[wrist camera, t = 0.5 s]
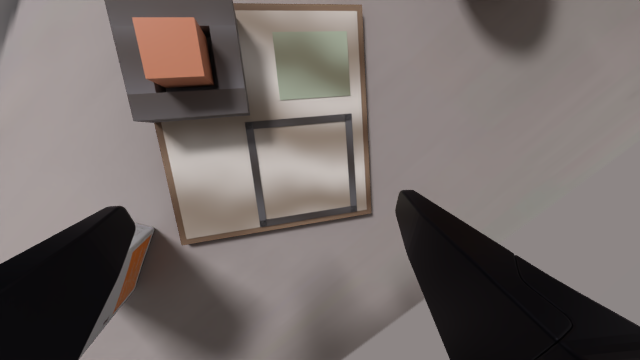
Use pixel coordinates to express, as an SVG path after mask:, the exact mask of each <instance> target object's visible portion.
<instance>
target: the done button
mask: <svg viewBox="0 0 640 360" xmlns="http://www.w3.org/2000/svg"><path fill="white" fill-rule="evenodd" d="M132 20H133V24H134V29H135V33H136V38H137V42H138V47H139V51H140V56H141V60H142V65H143V69H144V74H145V78H146V79H147V80H149V81H152V82H154V83H156V84H158V85H161V86H163V87H165V88H175V87H194V86H213V85H214V81H213V75H212V69H211V63H210V57H209V51H208V45H207V39H206V36H205V34H204V33H203V31H202V29H201V28H200V26H199V24H198V23H197V21H196V19H195V18H194V17H132Z"/></svg>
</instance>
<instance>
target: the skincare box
mask: <svg viewBox="0 0 640 360" xmlns="http://www.w3.org/2000/svg"><path fill="white" fill-rule="evenodd" d="M135 226H136V230H135V234H134V237H133V239H132V242H131V245H130V248H129V250H128V253H127V256H126V259H125V261H124V264H123V267H122V270H121V272H120V275H119V277H118V279H117V281H116V283H115V285H114V288H113V290H112V292H111V294H110V296H109V298H108V300H107V302H106V304H105V306H104V308H103V310H102V312H101V314H100V316H99V318H98V320H97V322H96V324H95V327H94V329H93V331H92V333H91V335H90V337H89V339H88V341H87V343H86V345H85V347H84V349H83V351H82V353H81V355H80V357H81V356H82V355H83V354H84V352H85V351H86V350H87V349H88V347H89V346H90V345H91V344H92V342H93V341H94V340H95V339H96V337H97V336H98V335H99V334H100V332H101V331H102V330H103V329H104V327H105V326H106V325H107V323H108V322H109V321H110V320H111V318H112V317H113V316H114V315H115V313H116V312H117V311H118V310H119V309H120V307H121V306H122V305H123V303H124V302H125V301H126V300H127V299H128V297H129V296H130V295H131V294H132V292H133V291H134V290H135V287H136V283H137V280H138V277H139V273H140V270H141V267H142V264H143V261H144V258H145V255H146V252H147V249H148V246H149V244H150V241H151V238H152V235H153V232H154V228H153V227H150V226H145V225H141V224H137V223H135ZM80 357H79V359H80ZM79 359H78V360H79Z"/></svg>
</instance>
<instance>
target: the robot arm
mask: <svg viewBox="0 0 640 360" xmlns="http://www.w3.org/2000/svg"><path fill="white" fill-rule="evenodd" d="M395 211H396V217H397V221H398V224H399V228H400V231H401V235H402V238H403V242H404V246H405V249H406V252H407V255H408V258H409V260H410V263H411V265H412V268H413V270H414V273H415V275H416V278H417V280H418V282H419V285H420V287H421V290H422V292H423V295H424V297H425V300H426V302H427V304H428V307H429V309H430V312H431V314H432V317H433V319H434V321H435V324H436V326H437V329H438V331H439V334H440V336H441V339H442V341H443V343H444V346H445V348H446V351H447V353H448V356H449V358H450V360H640V326H638V325H636V324H635V323H633V322H631V321H629V320H627V319H626V318H624V317H622V316H620V315H618V314H617V313H615V312H613V311H611V310H609V309H608V308H606V307H604V306H602V305H600V304H599V303H597V302H595V301H593V300H591V299H590V298H588V297H586V296H584V295H582V294H581V293H579V292H577V291H575V290H574V289H572V288H570V287H568V286H567V285H565V284H563V283H561V282H560V281H558V280H556V279H554V278H553V277H551V276H549V275H548V274H546V273H544V272H543V271H541V270H539V269H538V268H536V267H535V266H533V265H531V264H530V263H528V262H527V261H525V260H524V259H522V258H520V257H519V256H517V255H515V256H514V254H513V253H512V252H510V251H509V250H507V249H506V248H504V247H503V246H501V245H500V244H498V243H496V242H495V241H493V240H492V239H490V238H488V237H487V236H485V235H484V234H482V233H481V232H479V231H477V230H476V229H474V228H473V227H471V226H469V225H468V224H466V223H465V222H463V221H462V220H460V219H458V218H457V217H455V216H454V215H452V214H450V213H449V212H447V211H446V210H444V209H442V208H441V207H439V206H438V205H436V204H435V203H433V202H431V201H430V200H428V199H427V198H425V197H423V196H422V195H420V194H419V193H417V192H415V191H414V190H402V191H400V193H399V196H398V200H397V205H396V210H395ZM135 230H136V226H135V223H134V221H133V220H132V218H131V217H130V215H129V213H128V212H127V210H126V209H125V208H124V207H122V206H110V207H106V208H104V209H102V210H100V211H98V212H96V213H95V214H93V215H91V216H89V217H87V218H85V219H83V220H82V221H80V222H78V223H76V224H74V225H72V226H70V227H69V228H67V229H65V230H63V231H61V232H59V233H57V234H55V235H54V236H52V237H50V238H48V239H46V240H44V241H42V242H41V243H39V244H37V245H35V246H33V247H31V248H29V249H28V250H26V251H24V252H22V253H20V254H18V255H16V256H14V257H13V258H11V259H9V260H7V261H5V262H3V263H1V264H0V360H78V359H79V357H80V355H81V353H82V351H83V349H84V347H85V345H86V343H87V341H88V339H89V337H90V335H91V333H92V331H93V329H94V327H95V324H96V322H97V320H98V318H99V316H100V314H101V312H102V310H103V308H104V306H105V304H106V302H107V300H108V298H109V296H110V294H111V292H112V290H113V288H114V285H115V283H116V281H117V279H118V277H119V275H120V272H121V270H122V267H123V264H124V261H125V259H126V256H127V253H128V250H129V248H130V245H131V242H132V239H133V237H134V234H135Z"/></svg>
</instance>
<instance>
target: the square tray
mask: <svg viewBox="0 0 640 360" xmlns="http://www.w3.org/2000/svg"><path fill="white" fill-rule="evenodd" d="M104 1H105V5H106V9H107V13H108V17H109V21H110V25H111V30H112V34H113V38H114V42H115V46H116V50H117V54H118V59H119V63H120V67H121V71H122V75H123V79H124V83H125V88H126V92H127V96H128V100H129V104H130V108H131V112H132V117H133V121H138V122H152V123H154V124H155V129H156V133H157V137H158V142H159V146H160V151H161V155H162V160H163V164H164V169H165V173H166V178H167V182H168V187H169V191H170V195H171V200H172V204H173V209H174V213H175V218H176V222H177V227H178V231H179V236H180V240H181V245H187V244H193V243H198V242H204V241H210V240H216V239H222V238H228V237H234V236H240V235H246V234H252V233H258V232H264V231H269V230H275V229H281V228H287V227H293V226H299V225H305V224H311V223H317V222H323V221H329V220H335V219H340V218H346V217H352V216H358V215H364V214H370V213H371V194H370V172H369V150H368V128H367V106H366V84H365V62H364V40H363V19H362V5H337V4H243V3H233V1H232V0H104ZM132 17H194V18H195V19H196V21H197V23H198V24H199V26H200V28H201V29H202V31H203V33H204V34H205V36H206V39H207V45H208V51H209V57H210V63H211V69H212V75H213V81H214V85H213V86H194V87H175V88H165V87H163V86H161V85H158V84H156V83H154V82H152V81H149V80H147V79H146V78H145V74H144V69H143V65H142V60H141V56H140V51H139V47H138V42H137V38H136V33H135V29H134V24H133V20H132Z"/></svg>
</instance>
